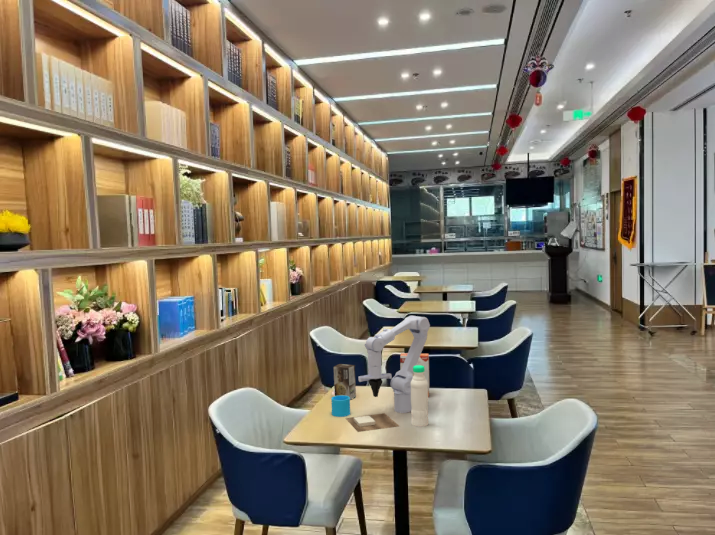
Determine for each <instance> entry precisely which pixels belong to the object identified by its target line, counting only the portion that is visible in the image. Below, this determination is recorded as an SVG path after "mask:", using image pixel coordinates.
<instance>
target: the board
mask: <svg viewBox="0 0 715 535" xmlns="http://www.w3.org/2000/svg"><path fill="white" fill-rule="evenodd" d="M362 416H363V415H361V416H360V415H359V416H358V417H362ZM366 416H370V417H371V418H372V419H373V420H374V421H375V425H369V426H362V427H359V426H358V425H357V424H356V423H355V422H354V417H355V416H353V417H346V418H345V420H346V421H347V422H348V423H349V424H350V425H351V426H352V427H353V429H354V430H355V431H356V432H357V433H360V432H367V431H369V432H370V431H375V430H383V429H389V428H390V429H391V428H398V427H400V425H399V424H398V423H397V422H395V421H394V420H393V419H392V418H391V416H388V415H387V414H386V413H385V412H383V413H376V414H368V415H366Z"/></svg>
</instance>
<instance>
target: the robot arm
mask: <svg viewBox="0 0 715 535" xmlns="http://www.w3.org/2000/svg"><path fill="white" fill-rule="evenodd" d="M430 327H431V324H430V322H429V319H428V318H427V317H425V316H418V315H417V316H416V315H409V316H407V317H404V320H402V321H401V322H400V323H398V324H397V325H395V326H394V327H392V328H391V329H390V328H383V329H382V331H381V332H379V333H376V334H374V337H373V336H369V337H368V338H367V339H366V341H365V343H364V347H365V349H366V352H367V362H368V363H367V368H368V370H367V371H368V372H367V373H368V374H364V375H360V376H358V382H359V383H361V382H368V384H369V386H370V389H371V391H372V395H373V397H374V398H379V397H378V396H379V392H380V388H381V387H382V384H383V380H386V379H390V388H391V389H392V392H393V402H394V404H393V405H394V406H393V407H394V412H396V413H399V414H400V413H401V414H402V413H403V414H405V413H410V412H411V409H412V407H411V381H412V379H413V367H414V366H416V364H417V362H418V359H419V357H420V354H422V351H423V350H424V346H425V344H426V342H427V339H428V332H429V330H430ZM407 330H409V332H410V333H411V334H412V337H413V339H412V342H411V344H410V347H409V349H408V352H407V353H408V354H407V356H406V359H405V361H404V364H403V366H402V369H401V370H398V371H396V372H395V375H394V376H393V377H392V373H391V372H390V373H389V372H388V373H385V372H384V373H382V371H383V370H382V351H383V349H384V348H385V346H387V345H389V344H390V343H392V342H393V341H394V340H395V338H396V337H397V335H399V334H402V333H403V332H405V331H407ZM405 378H406V379H405Z"/></svg>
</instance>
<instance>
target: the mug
mask: <svg viewBox="0 0 715 535" xmlns="http://www.w3.org/2000/svg"><path fill="white" fill-rule="evenodd" d="M330 399H331V415H332V416H333V417H335V418H336V417H337V418H342V417H348V416H350V415H351V400H350V397H349V396H344V395H340V396H335V395H334V396H332V397H331V398H330Z"/></svg>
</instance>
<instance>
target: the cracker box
mask: <svg viewBox="0 0 715 535" xmlns="http://www.w3.org/2000/svg"><path fill="white" fill-rule="evenodd" d="M407 354H408V352H407V353H404V352H402V353H400V358H399V363H400V364H399V365H400V368H399V369H400V370H401V369H402V366H403V364H404V361H405V359H406V356H407ZM416 365H422V366H424V368H425V371H424V376H425V378H426V380H427V383H428V386H427V389H428V398H429V397H430V357H429V353H421V354H420V357H419V359H418V362H417V364H416ZM400 370H399V371H400ZM413 376H414V372H413ZM405 379H406V378H405Z"/></svg>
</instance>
